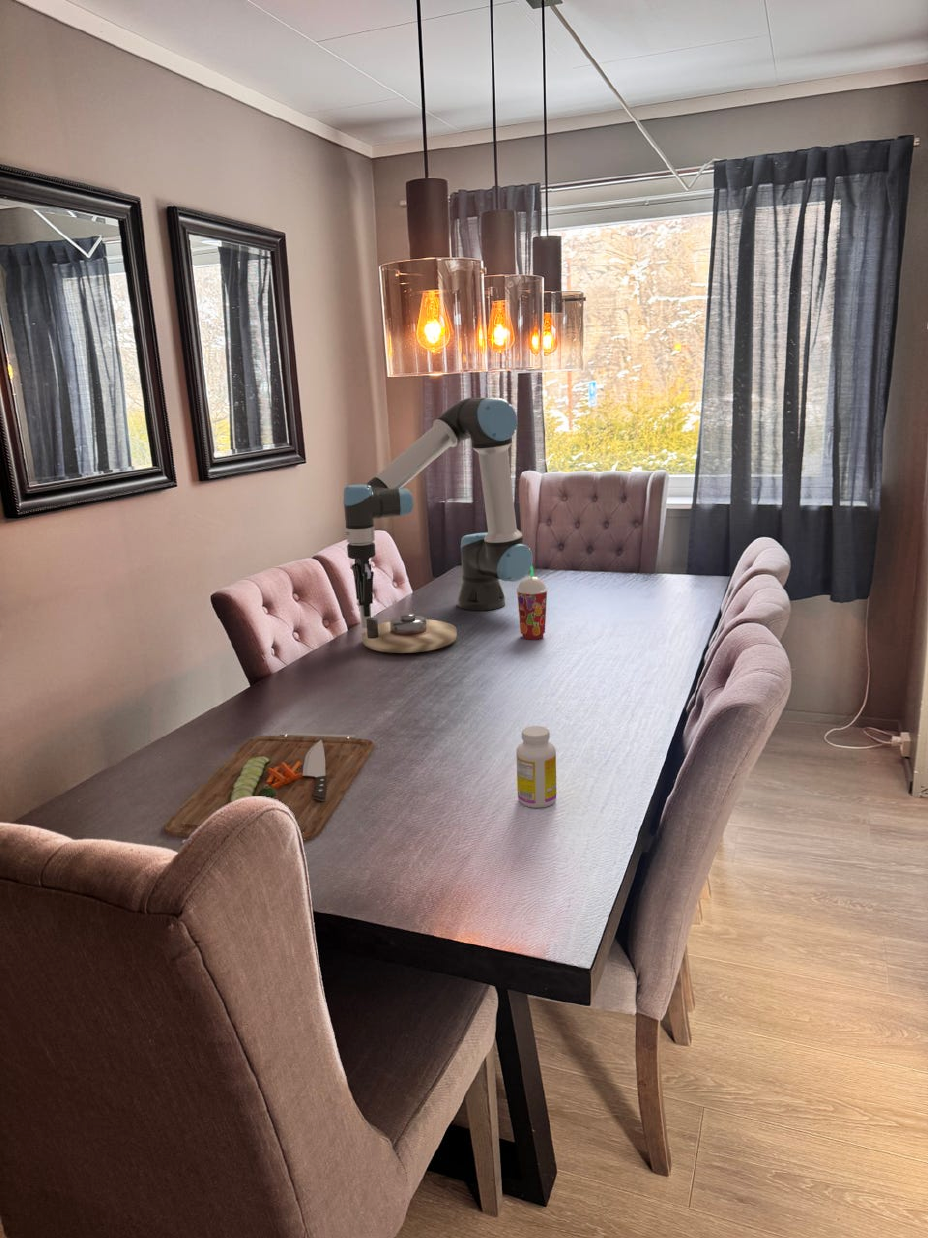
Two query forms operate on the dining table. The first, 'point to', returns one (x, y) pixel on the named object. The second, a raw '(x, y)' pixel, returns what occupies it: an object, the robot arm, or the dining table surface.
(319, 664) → the dining table surface
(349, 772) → the chopping board
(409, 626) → the cover
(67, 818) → the dining table surface
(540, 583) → the smoothie
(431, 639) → the turntable
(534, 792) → the supplement bottle
